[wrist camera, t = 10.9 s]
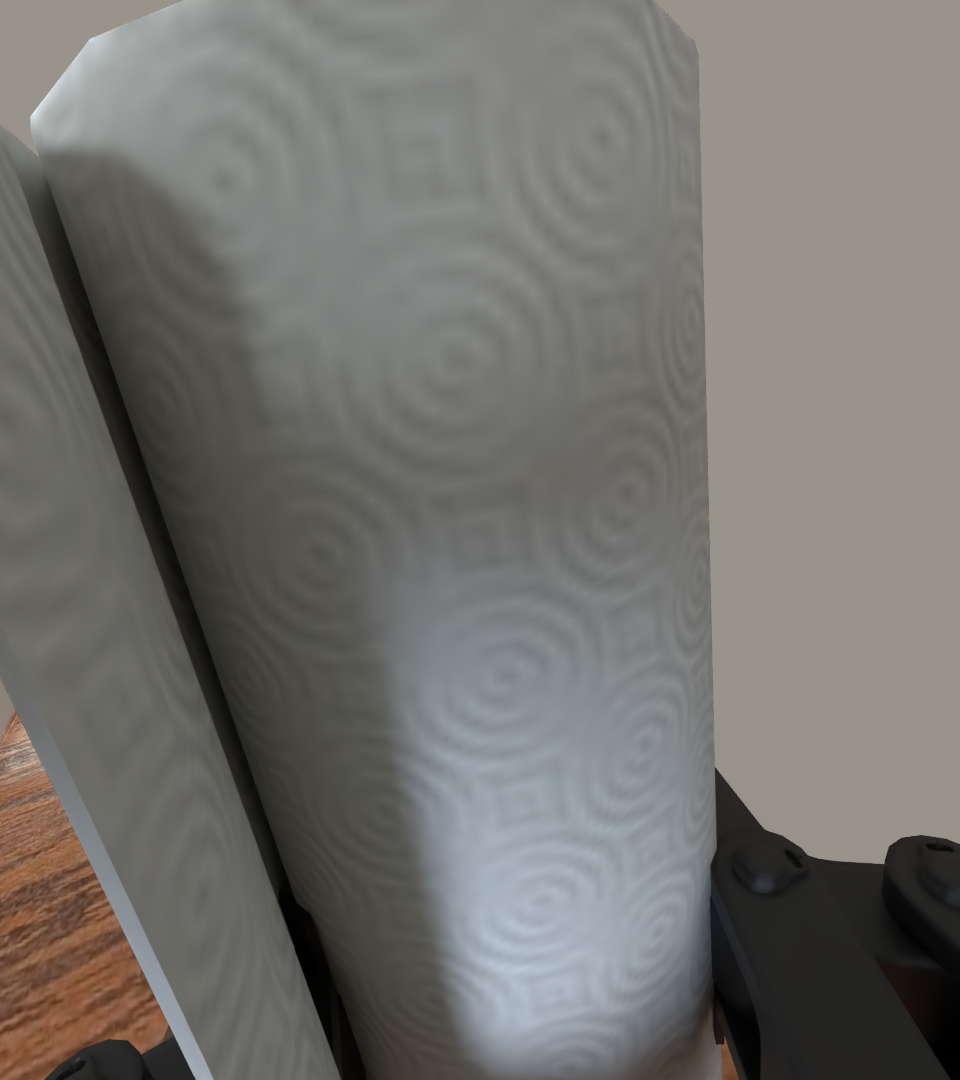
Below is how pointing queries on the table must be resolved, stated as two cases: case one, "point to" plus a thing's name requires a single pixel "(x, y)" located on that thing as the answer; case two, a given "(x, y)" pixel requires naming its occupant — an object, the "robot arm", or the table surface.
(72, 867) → the table surface
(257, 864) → the paper towel roll
